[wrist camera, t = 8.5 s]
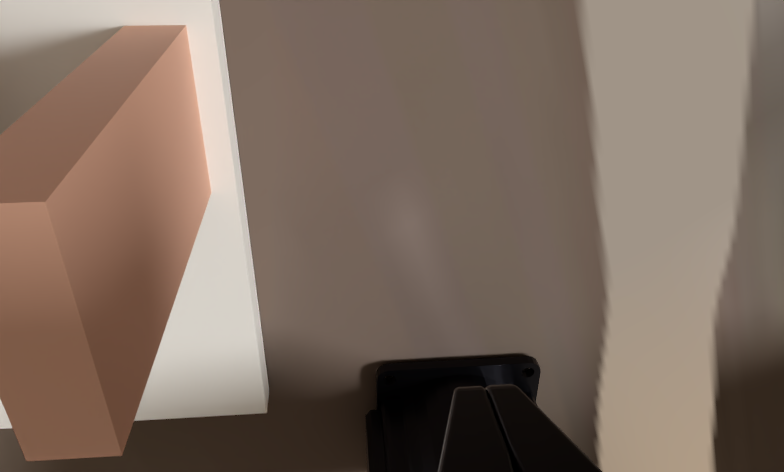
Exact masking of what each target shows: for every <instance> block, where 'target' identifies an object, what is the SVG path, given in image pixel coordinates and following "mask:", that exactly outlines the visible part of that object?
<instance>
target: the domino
mask: <svg viewBox="0 0 784 472" xmlns="http://www.w3.org/2000/svg"><path fill="white" fill-rule="evenodd" d="M210 195H211V187H210V180H209V173H208V167H207V160H206V154H205V147H204V140H203V134H202V127H201V121H200V114H199V107H198V101H197V94H196V87H195V81H194V74H193V68H192V61H191V54H190V48H189V41H188V34H187V28H186V25H150V26H123V27H122V28H121V29H120V30H119V31H118V32H117V33H115V34H114V35H113V36H112V37H111V38H110V39H109V40H107V41H106V42H105V43H104V44H103V45H102V46H101V47H100V48H98V49H97V50H96V51H95V52H94V53H93V54H92V55H90V56H89V57H88V58H87V59H86V60H85V61H84V62H82V63H81V64H80V65H79V66H78V67H77V68H76V69H75V70H73V71H72V72H71V73H70V74H69V75H68V76H67V77H65V78H64V79H63V80H62V81H61V82H60V83H59V84H57V85H56V86H55V87H54V88H53V89H52V90H51V91H50V92H48V93H47V94H46V95H45V96H44V97H43V98H42V99H40V100H39V101H38V102H37V103H36V104H35V105H34V106H32V107H31V108H30V109H29V110H28V111H27V112H26V113H25V114H23V115H22V116H21V117H20V118H19V119H18V120H17V121H15V122H14V123H13V124H12V125H11V126H10V127H9V128H7V129H6V130H5V131H4V132H3V133H2V134H1V135H0V399H1V401H2V404H3V406H4V409H5V411H6V413H7V416H8V418H9V421H10V423H11V425H12V428H13V430H14V433H15V435H16V437H17V440H18V442H19V445H20V447H21V449H22V452H23V454H24V457H25V459H26V461H42V460H59V459H76V458H93V457H110V456H122V455H123V452H124V449H125V446H126V443H127V440H128V437H129V434H130V431H131V428H132V425H133V422H134V419H135V416H136V413H137V410H138V407H139V404H140V402H141V399H142V396H143V393H144V390H145V387H146V384H147V381H148V378H149V375H150V372H151V369H152V366H153V363H154V360H155V357H156V354H157V351H158V349H159V346H160V343H161V340H162V337H163V334H164V331H165V328H166V325H167V322H168V319H169V316H170V313H171V310H172V307H173V304H174V301H175V298H176V295H177V293H178V290H179V287H180V284H181V281H182V278H183V275H184V272H185V269H186V266H187V263H188V260H189V257H190V254H191V251H192V248H193V245H194V242H195V240H196V237H197V234H198V231H199V228H200V225H201V222H202V219H203V216H204V213H205V210H206V207H207V204H208V201H209V198H210Z"/></svg>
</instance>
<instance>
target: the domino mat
mask: <svg viewBox="0 0 784 472" xmlns="http://www.w3.org/2000/svg"><path fill="white" fill-rule="evenodd" d="M150 25H186V28H187V34H188V41H189V48H190V54H191V61H192V68H193V74H194V81H195V87H196V94H197V101H198V107H199V114H200V121H201V127H202V134H203V140H204V147H205V154H206V160H207V167H208V173H209V180H210V187H211V195H210V198H209V201H208V204H207V207H206V210H205V213H204V216H203V219H202V222H201V225H200V228H199V231H198V234H197V237H196V240H195V242H194V245H193V248H192V251H191V254H190V257H189V260H188V263H187V266H186V269H185V272H184V275H183V278H182V281H181V284H180V287H179V290H178V293H177V295H176V298H175V301H174V304H173V307H172V310H171V313H170V316H169V319H168V322H167V325H166V328H165V331H164V334H163V337H162V340H161V343H160V346H159V349H158V351H157V354H156V357H155V360H154V363H153V366H152V369H151V372H150V375H149V378H148V381H147V384H146V387H145V390H144V393H143V396H142V399H141V402H140V404H139V407H138V410H137V413H136V416H135V419H134V421H140V420H157V419H174V418H191V417H208V416H225V415H242V414H259V413H267V407H268V398H269V384H268V376H267V369H266V361H265V353H264V345H263V338H262V330H261V322H260V314H259V307H258V299H257V291H256V283H255V276H254V268H253V260H252V252H251V245H250V237H249V229H248V221H247V214H246V206H245V198H244V190H243V183H242V175H241V167H240V160H239V152H238V144H237V136H236V129H235V121H234V113H233V105H232V98H231V90H230V82H229V74H228V67H227V59H226V51H225V43H224V36H223V28H222V20H221V12H220V5H219V0H0V135H1V134H2V133H3V132H4V131H5V130H6V129H7V128H9V127H10V126H11V125H12V124H13V123H14V122H15V121H17V120H18V119H19V118H20V117H21V116H22V115H23V114H25V113H26V112H27V111H28V110H29V109H30V108H31V107H32V106H34V105H35V104H36V103H37V102H38V101H39V100H40V99H42V98H43V97H44V96H45V95H46V94H47V93H48V92H50V91H51V90H52V89H53V88H54V87H55V86H56V85H57V84H59V83H60V82H61V81H62V80H63V79H64V78H65V77H67V76H68V75H69V74H70V73H71V72H72V71H73V70H75V69H76V68H77V67H78V66H79V65H80V64H81V63H82V62H84V61H85V60H86V59H87V58H88V57H89V56H90V55H92V54H93V53H94V52H95V51H96V50H97V49H98V48H100V47H101V46H102V45H103V44H104V43H105V42H106V41H107V40H109V39H110V38H111V37H112V36H113V35H114V34H115V33H117V32H118V31H119V30H120V29H121V28H122V27H123V26H150ZM5 428H12V425H11V423H10V421H9V418H8V416H7V413H6V411H5V409H4V406H3V404H2V401H1V399H0V429H5Z"/></svg>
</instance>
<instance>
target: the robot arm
mask: <svg viewBox="0 0 784 472" xmlns="http://www.w3.org/2000/svg"><path fill="white" fill-rule="evenodd" d="M526 368H530V369H528V370H525V371H524V369H526ZM389 375H390V376H393V377H391V378H385V377H386V376H389ZM539 378H540V367H539V364H538V362H537V360H536V359H535V358H533V357H529V356H522V357H504V358H485V359H467V360H448V361H430V362H412V363H393V364H385V365H382V366H381V367H379V368H378V370H377V372H376V410H370V411H369V412H368V413H367V414H366V454H367V471H368V472H602V471H601V470H600V469H599V468H598V467H597V466H596V465H595V464H594V463H593V462H592V461H591V460H590V459H589V458H588V457H587V456H586V455H585V454H584V453H583V452H582V451H581V450H580V449H579V448H578V447H577V446H576V445H575V444H574V443H573V442H572V441H571V440H570V439H569V438H568V437H567V436H566V435H565V434H564V433H563V432H562V431H561V430H560V429H559V428H558V427H557V426H556V425H555V424H554V423H553V422H552V421H551V420H550V419H549V418H548V417H547V416H546V415H545V414H544V413H543V412H542V411H541V410H540V409H539V408H538V407H537V404H536V396H537V390H538V384H539Z"/></svg>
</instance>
